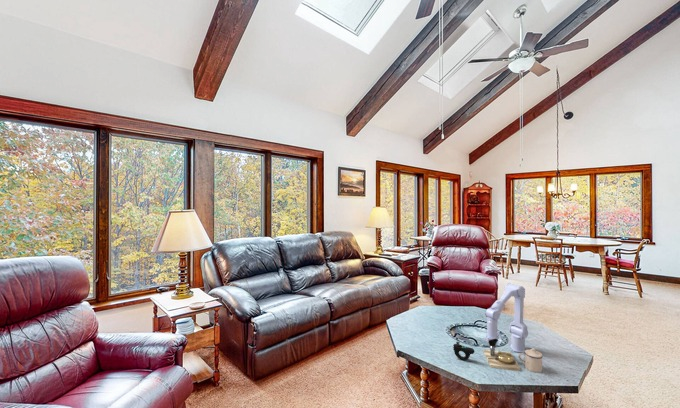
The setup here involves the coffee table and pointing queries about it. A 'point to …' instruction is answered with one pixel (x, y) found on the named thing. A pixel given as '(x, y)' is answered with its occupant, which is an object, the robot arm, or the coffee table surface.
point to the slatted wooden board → (497, 364)
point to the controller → (464, 349)
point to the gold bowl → (502, 355)
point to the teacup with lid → (532, 360)
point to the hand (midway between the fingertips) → (492, 350)
